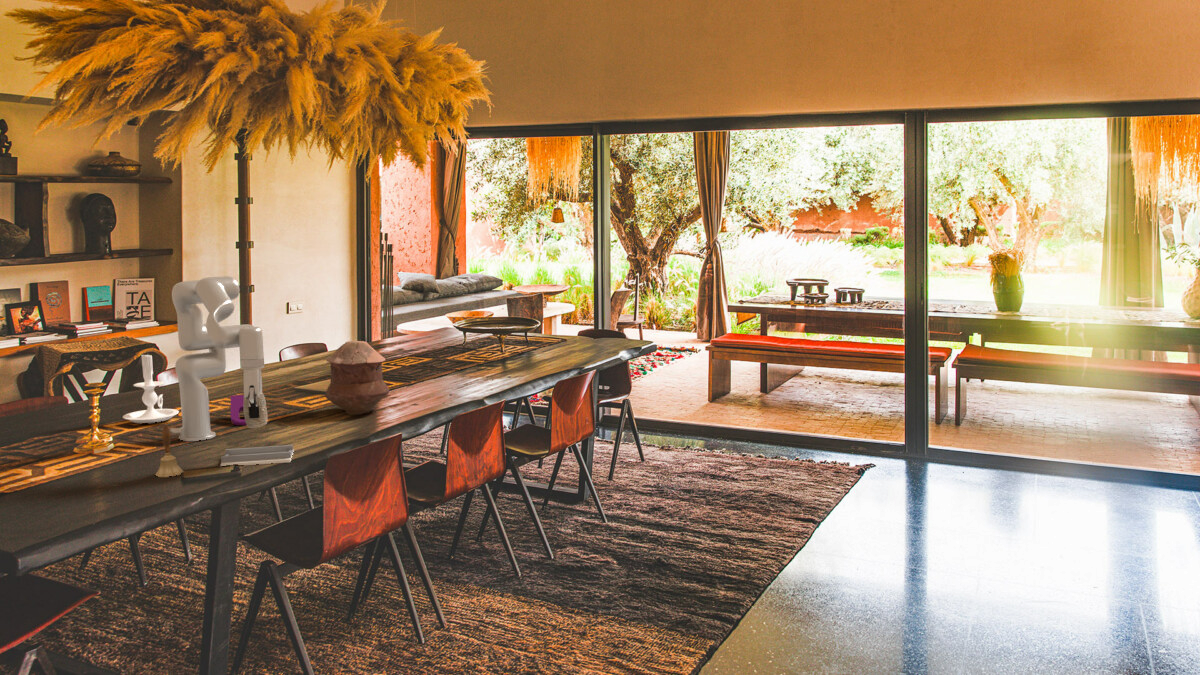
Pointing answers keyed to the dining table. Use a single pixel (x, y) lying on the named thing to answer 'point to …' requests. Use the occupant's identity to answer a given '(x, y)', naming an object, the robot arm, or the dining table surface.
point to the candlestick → (150, 398)
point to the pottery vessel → (356, 377)
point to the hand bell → (168, 458)
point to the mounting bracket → (237, 409)
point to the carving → (262, 412)
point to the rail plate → (258, 455)
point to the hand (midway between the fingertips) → (255, 415)
